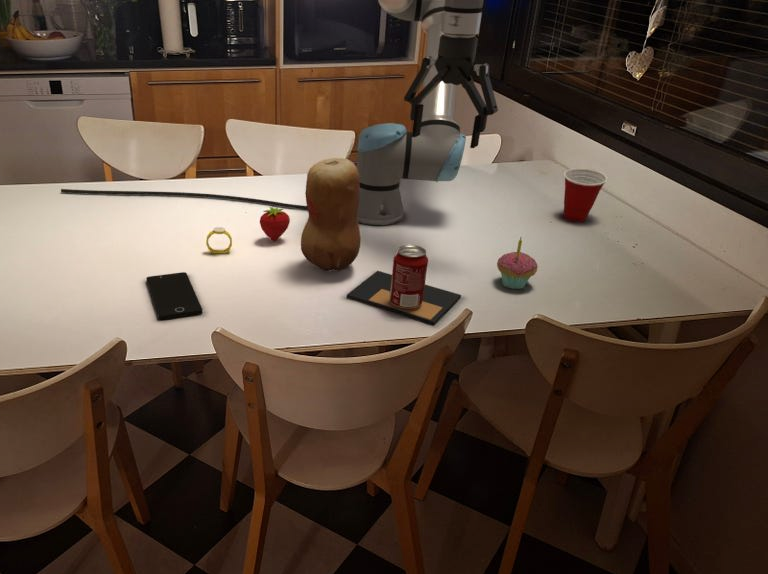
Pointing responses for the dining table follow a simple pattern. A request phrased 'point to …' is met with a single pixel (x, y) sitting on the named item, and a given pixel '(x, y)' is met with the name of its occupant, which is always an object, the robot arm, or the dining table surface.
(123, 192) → the robot arm
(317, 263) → the butternut squash
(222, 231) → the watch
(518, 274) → the cupcake
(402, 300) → the soda can
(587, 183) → the plastic cup
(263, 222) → the strawberry
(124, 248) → the dining table surface
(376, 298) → the mat
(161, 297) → the cell phone
